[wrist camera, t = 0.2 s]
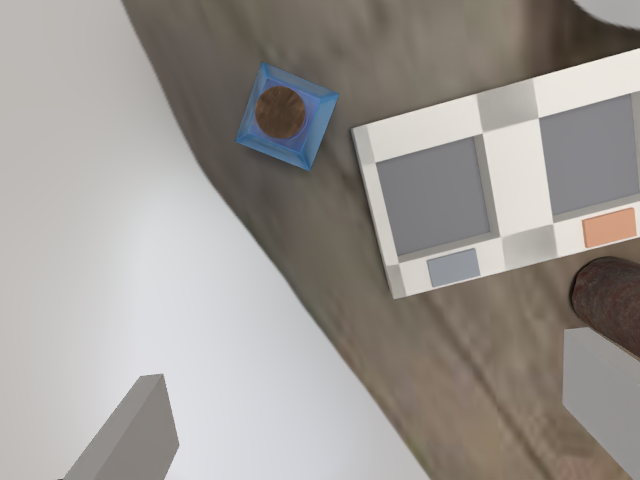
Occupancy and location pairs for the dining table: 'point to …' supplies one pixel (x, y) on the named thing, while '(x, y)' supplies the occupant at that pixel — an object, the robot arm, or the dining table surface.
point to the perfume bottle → (286, 116)
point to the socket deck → (505, 175)
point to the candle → (611, 300)
